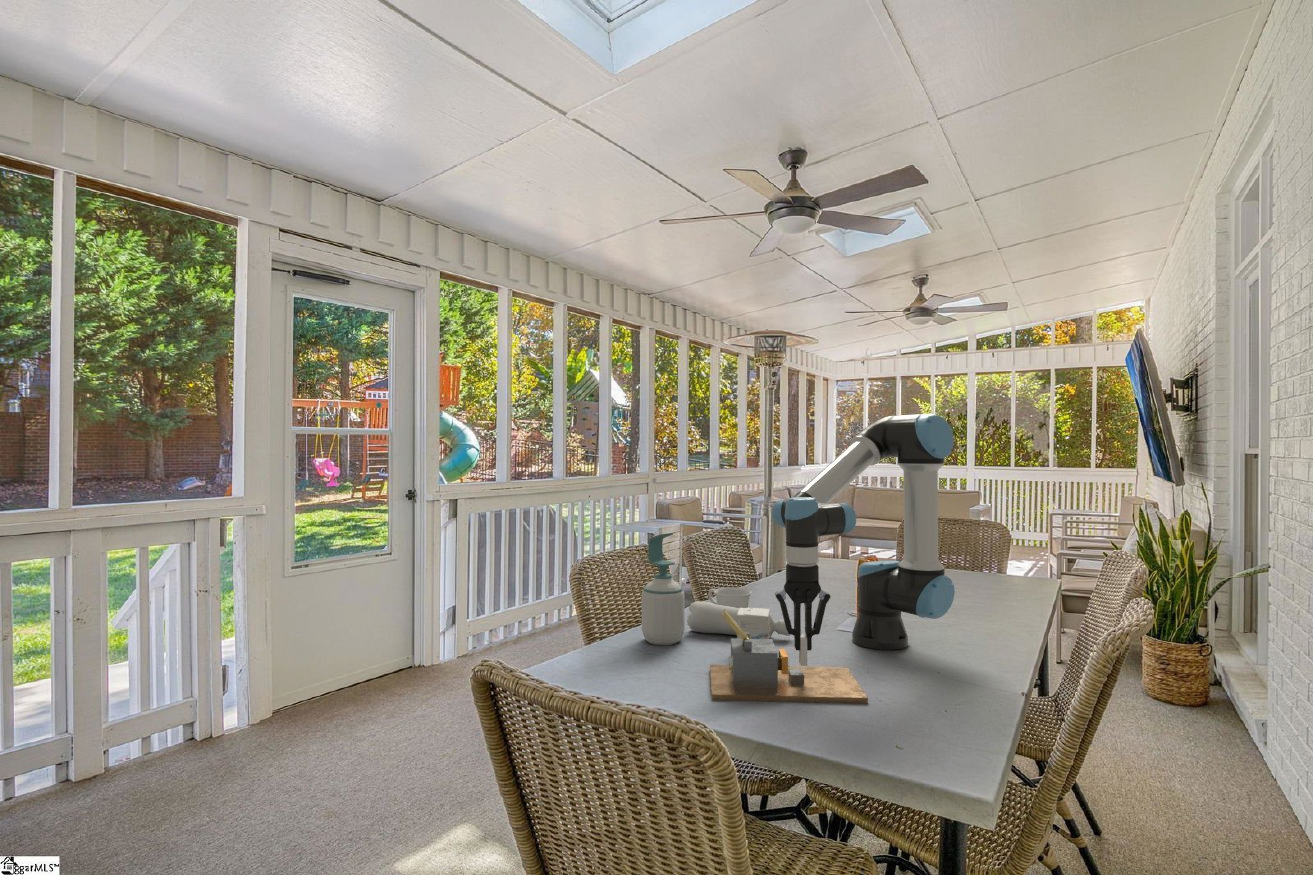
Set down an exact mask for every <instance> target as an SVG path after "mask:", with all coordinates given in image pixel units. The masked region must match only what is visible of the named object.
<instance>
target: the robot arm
mask: <svg viewBox="0 0 1313 875" xmlns="http://www.w3.org/2000/svg"><path fill="white" fill-rule="evenodd" d="M954 446H955V442H954V434H953V430H952V427H951V426H950V424H949V423H948V421H947V420H946V419H945V418H944V417H942V416H941V415H938V414H933V413H932V414H931V413H920V414H919V413H918V414H905V415H903V414H902V415H888V416H885V417H882V418H880V419H877V420H876V421H873V422H872V423H871V424H869V425H868V426H866V427H865V428H864V429H862V430H861V431H859V433H857V434H856V435H855V436H853V437H852V439H851V440H850V442H849V446H848V447H847V448H846V449H845V450H843V451H842V452H841V453H840V454H839V455H838V456H836V457H835V459H834V460H832V461H831V462H830V463H829V464H828V465H827V466H825V468H823V469H822V470H821V471H820V472H819V473H818V474H817V475H815V477H813V478H812V479H811V480H810V481H809V482H807V484H805V486H803V487H802V488H801V489H800V490H799V491H797V493H796V494H794V495H793V496H792V497H788V498H783V499H782V498H780V499H779V500H776V501H775V503H774V504H773V506H772V509H771V517H772V520H773V522H774V523H775V525H777V526H778V527H781V528H785V530H784V531H785V561H786V562H787V563H786V564H785V584H784V586H783V588H782V589H781V590H780V591H776V592H774V596H775V597H776V599H777V601H778V602H779V605H780V609H781V614H782V618H783V620H784V622H785V626H786V630H787V632H788V634H790V636H791V635H792V636H793V637H794V641H793V642H794V649H795V650H796V651H798V656H799V657H798V658H799V659H798V662H799V665H800V667H808V651H812V648H813V645H812V644H813V643H812V639H813V637H814V636H815V635H820V633H821V628H822V625H823V621H824V615H825V612H826V611H825V610H826V608H827V604H828V602H829V601H830V600H831V594H830V593H829V592H827V591H824V590H823V589H822V586H821V585H820V582H819V581H820V580H819V578H820V577H819V576H820V575H819V565H818V563H819V537H824V536H834V535H835V536H836V535H839V536H840V535H843V534H848V533H851V532H852V531H853V530H854V529H855V527H856V523H857V515H856V511H855V509H854V508H853V507H852V506H851V505H850V504H849V503H847V502H835V503H831V502H832V501H833V500H834V499H835V498H837V496H838V495H840V493H841V492H843V491H844V490H845V489H846V488H847V487H848V486H849V485H850V484H851V483H853V481H854V480H855V479H857V478H858V477H859V476H860V475H861V474H862V473H863V472H864V471H865V470H866V469H867V468H868V467H869V466H875V465H877V464H878V463H879V462H880V461H882V460H884V459H887V458H897V465H898V466H899V467H900V468H901V469H902V470H903V471H902V472H903V559H902V560H901V561H898V560H875V561H865V562H862V563H860V565H859V566H858V573H857V597H858V598H857V599H858V600H857V601H858V614H857V618H856V620H855V623H854V626H853V629H852V632H851V633H852V635H851V639H852V642H853V643H854V644H856V645H857V646H861V647H864V648H869V649H875V650H880V651H881V650H884V651H892V650H893V651H894V650H902V649H905V648H906V647H907V648H908V646H909V637H908V636H909V635H908V633H907V630H906V627H905V625H904V622H903V619H902V618H903V617H902V613H905V614H910V615H913V616H917V617H919V618H925V619H926V618H927V619H931V620H932V619H933V620H934V619H935V620H938V619H940V618H942V617H944V616H945V615H946V614H947V613H948V611H949V610H950V609H951V607H952V605H953V602H954V599H955V593H956V591H955V589H956V588H955V584H954V582H953V580H952V579H951V578H950V577H948V575H946V574H945V568H946V567H945V566H944V565H943V564H942V563H941V562H940V560H939V488H938V487H939V485H938V484H939V482H938V481H939V480H938V478H939V477H938V476H939V475H938V474H939V470H940V469H941V468H942V467H943V466H944V465H945V458H947V457H948V456H950V455H951V453H952V450H953V449H954ZM786 594H787V596H788V597H789V599H790V600H791V601H792V602H793V627H792V621H791V622H790V620H791V619H790V615H789V611H788V607H787V603H786V602H785V600H786V599H787V596H786ZM817 597H818V598H819V600H818V603H817V604H818V605H817V609H816V613H815V618H814V622H812V621H813V620H812V618H813V615H812V614H813V610H812V608H813V602H815V599H816V598H817ZM802 604H804V633H805V634H802V631H801V630H802V629H801V628H802V627H801V621H802V620H801V619H802V617H801V609H802V607H801V606H802Z"/></svg>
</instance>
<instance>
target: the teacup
mask: <svg viewBox="0 0 1313 875" xmlns="http://www.w3.org/2000/svg"><path fill="white" fill-rule="evenodd" d="M752 592H753V591H751V590H750V589H748V588H745V587H736V586H732V587H731V586H730V587H729V586H724V587H719V588H709V590H708V595H707V596H708V599H709V601H710V603H713V604H716V605H723V606H729V607H735V608H749V605H750V604H749V601H750V597H751V595H752ZM712 593H714V597H716V599H714V598H713V596H712Z"/></svg>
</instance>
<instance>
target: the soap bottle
mask: <svg viewBox="0 0 1313 875" xmlns="http://www.w3.org/2000/svg"><path fill="white" fill-rule="evenodd" d="M672 535H674V533H673V532H669V533H660V534H657V535H655V536H651V537H650V538H648V543H647V544H648V546H647V547H648V548H647V550H648V551H647V553H648V556H647V557H648V558H647V559H648V562H649V564H650V565H654V566H656V569H658V570H659V573H655V574H654V575H653V577H654V578H653V579H652V580H651V581H650V582H648V583H647V584H646V585H644V586H643V587H642V589H643V590H642V591H641V632H642V635H643V637H644V639H645V641H646V642H648V643H649V644H652V645H655V646H671V645H672V646H673V645H675V644H677V643H678V642H680V641H681V639H682V638H683V636H684V632H685V626H686V625H685V622H686V621H685V620H686V618H685V616H686V615H685V591H684V588H683V586H682V585H680V584H679V583H678V582H677V581H675V580H674V579H673V575H672V574H671V573H668V572H667V570H668V569H670V566H673V565H675V564H676V562H675V561H670V560H665V559H664V557H663V540H664V539H665V538H667V537H669V536H672Z"/></svg>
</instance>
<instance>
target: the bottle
mask: <svg viewBox="0 0 1313 875" xmlns="http://www.w3.org/2000/svg"><path fill="white" fill-rule="evenodd" d="M724 609H725V610H726V611H727V612H728V613H729V614H730V616H731V617H732V618H733V619H734V620H735V622H736V623H737V613H738V611H739V609H740V608H735V607H729V606H723V605H716V604H714V603H712V602H708V601H700V600H699V601H698V600H697V601H694V602H692V603H691V604H690V605H689V607H688V610H689V612H690V614H688V615H687V619H686V621H687V623H686V624H687V625H688V627H689V628H690V630H692V631H693V633H694V632H695V633H701V634H720V635H731V636H737V633H736V632H735V630H734V629H733V628H732V627H731V626H730V624H729V623H728V622H727V621H726V620H725V618H724V617H723V616H722V611H723V610H724ZM769 619H770V633H769V638H772V636H773V634H774V632H776V633H777V635H778V636H779V635H783V636H788V637H790V636H791V634H788V632H787V630H786V626H785V622H784V619H780V618H779V619H778V620H775V619H774V615H773V614H772V613H771V612H769ZM790 622H791V623H792V621H791V619H790Z"/></svg>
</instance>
